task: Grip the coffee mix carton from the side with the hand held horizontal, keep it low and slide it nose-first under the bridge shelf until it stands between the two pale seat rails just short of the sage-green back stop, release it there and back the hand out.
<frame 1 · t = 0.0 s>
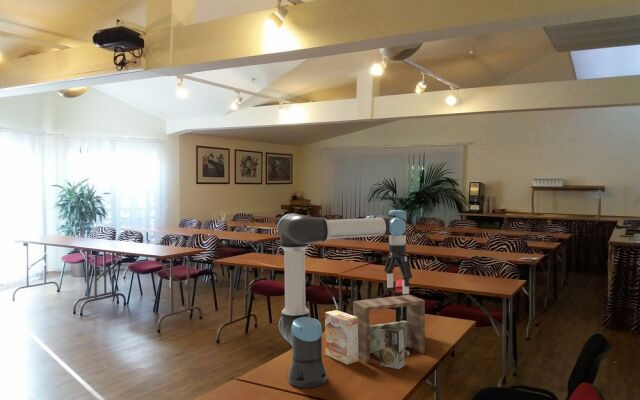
hand: (397, 290, 217), 28 cm above the table, tool pointing down, fingers open, 13 cm apart
coffee box: (392, 365, 201), on the table
coffeecake box: (341, 358, 210), on the table
graphics card box: (402, 337, 238), on the table
bridge shelf: (390, 354, 214), on the table
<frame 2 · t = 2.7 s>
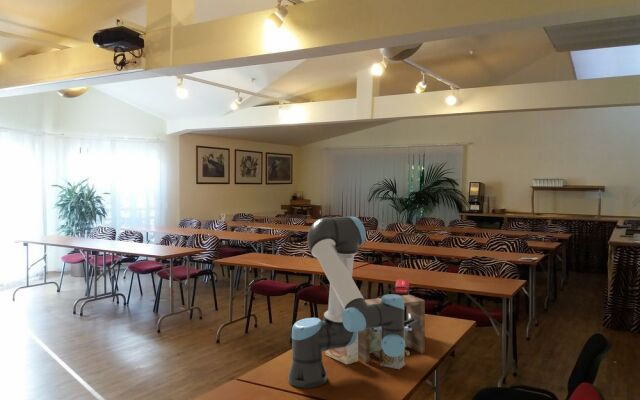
hand: (392, 316, 191), 24 cm above the table, tool horizontal, fingers open, 13 cm apart
nothing on the table moved.
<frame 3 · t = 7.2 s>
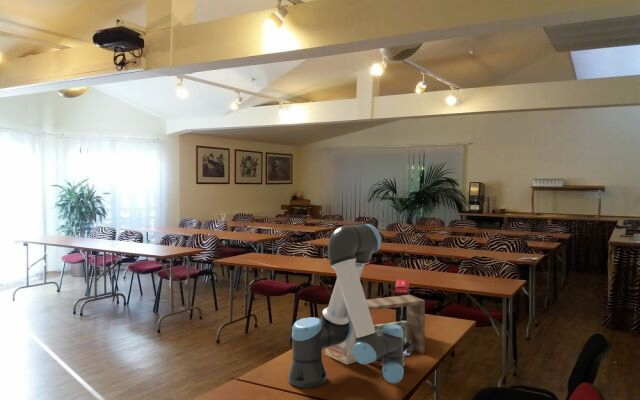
hand: (392, 339, 205), 10 cm above the table, tool horizontal, fingers closed on coffee box, 10 cm apart
coffee box: (392, 365, 201), on the table, touching gripper
everything else where it was.
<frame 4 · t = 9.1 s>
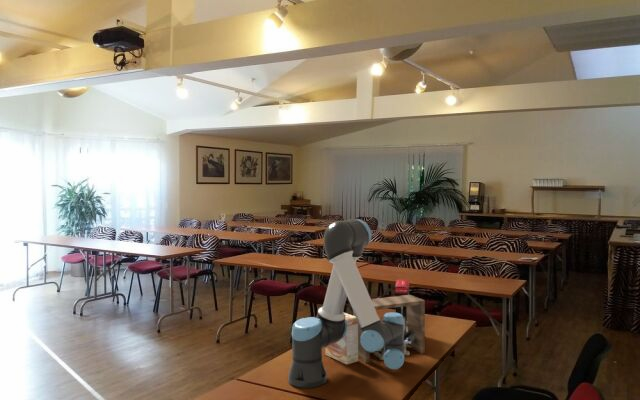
hand: (394, 329, 210), 12 cm above the table, tool horizontal, fingers closed on coffee box, 10 cm apart
coffee box: (394, 354, 206), point 3 cm above the table, touching gripper
everything else where it was.
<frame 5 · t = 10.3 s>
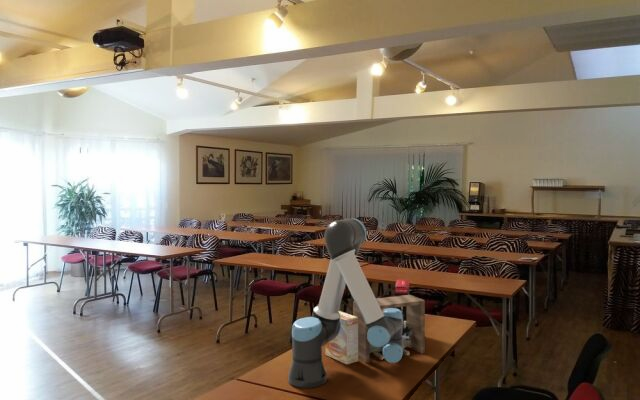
hand: (392, 325, 216), 12 cm above the table, tool horizontal, fingers closed on coffee box, 10 cm apart
coffee box: (392, 349, 212), point 3 cm above the table, touching gripper
everything else where it was.
when the fingers open (11 cm above the table, at t = 11.2 s): coffee box drops 1 cm, on the table.
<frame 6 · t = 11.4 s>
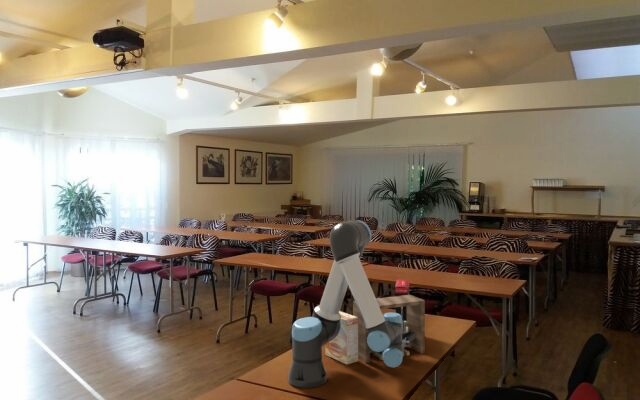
hand: (392, 329, 216), 11 cm above the table, tool horizontal, fingers open, 12 cm apart
coffee box: (392, 355, 213), on the table
everything else where it was.
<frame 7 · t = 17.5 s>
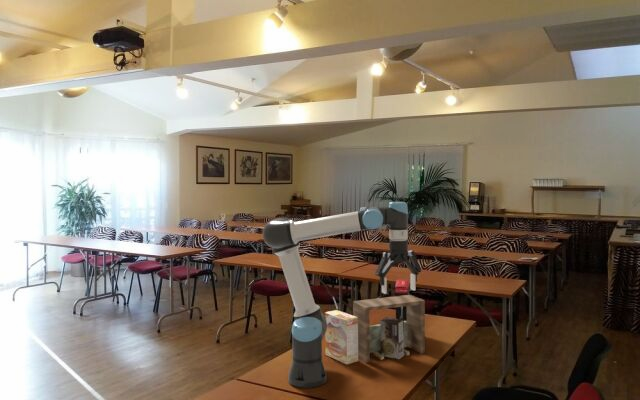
hand: (398, 291, 194), 33 cm above the table, tool pointing down, fingers open, 13 cm apart
nothing on the table moved.
at the end: coffee box inside the target area (0.3 cm from its centre), on the table; coffee box tilted 0°; the gripper is holding nothing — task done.
